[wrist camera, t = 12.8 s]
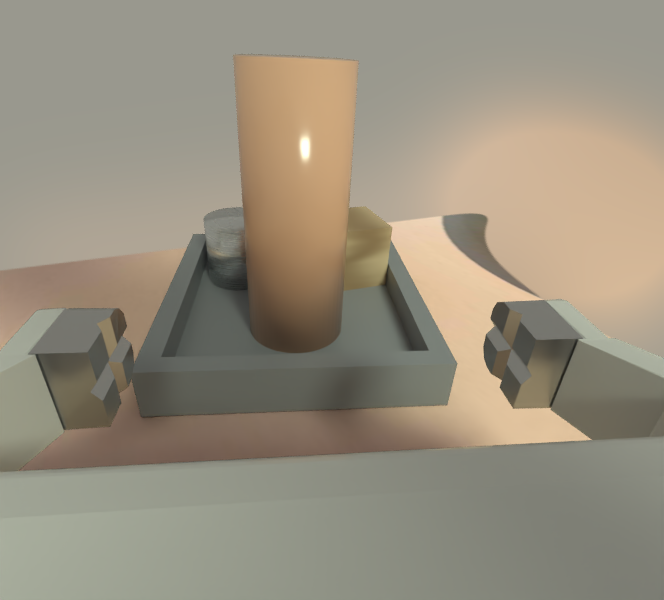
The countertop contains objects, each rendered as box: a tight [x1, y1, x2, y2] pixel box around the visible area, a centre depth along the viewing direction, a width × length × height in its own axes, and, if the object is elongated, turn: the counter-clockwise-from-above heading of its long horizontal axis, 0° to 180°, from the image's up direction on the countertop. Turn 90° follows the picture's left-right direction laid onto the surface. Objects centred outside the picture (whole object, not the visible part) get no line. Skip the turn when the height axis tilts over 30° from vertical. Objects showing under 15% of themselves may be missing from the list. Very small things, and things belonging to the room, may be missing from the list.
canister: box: [233, 54, 358, 353], centre depth 21 cm, size 5×5×13 cm
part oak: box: [344, 207, 392, 291], centre depth 29 cm, size 4×4×4 cm
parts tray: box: [132, 234, 457, 417], centre depth 26 cm, size 14×15×2 cm
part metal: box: [204, 207, 248, 291], centre depth 28 cm, size 4×4×4 cm
